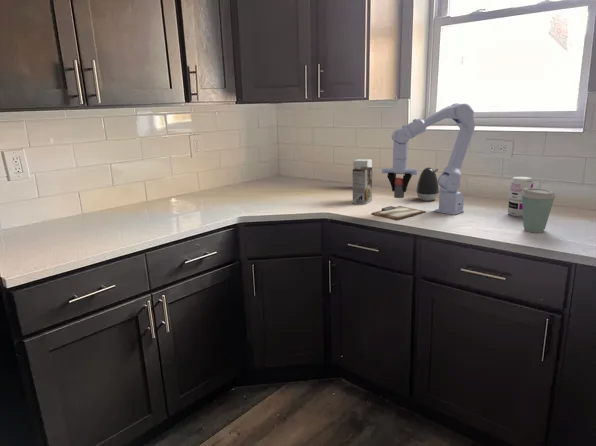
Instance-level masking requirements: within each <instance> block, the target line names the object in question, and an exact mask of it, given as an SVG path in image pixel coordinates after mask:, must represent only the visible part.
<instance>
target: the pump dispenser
mask: <svg viewBox="0 0 596 446" xmlns="http://www.w3.org/2000/svg"><path fill="white" fill-rule="evenodd" d="M437 171H438V172H439V168H435V169H433V168H432V167H425V168H424V169H423V170H422V171H421V173H420V175H419V178H418V181H417V185H416V188H415V189H416V194H417V197H418V198H419V199H420V200H421V201H426V202H431V201H435V200H436V199H437V197H438V195H439V193H440V185H439V183H438V176H437V174H436V172H437Z"/></svg>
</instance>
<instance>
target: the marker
mask: <svg viewBox="0 0 596 446" xmlns="http://www.w3.org/2000/svg"><path fill="white" fill-rule="evenodd" d="M394 184H395V185H394V191H393V192H394V193H393V194H394V195H393V198H395V199H403V198H405V192H403V187H404V180H403V176H402V177H401V176H400V177H399V176H396V178H394Z"/></svg>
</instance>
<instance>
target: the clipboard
mask: <svg viewBox="0 0 596 446" xmlns="http://www.w3.org/2000/svg"><path fill="white" fill-rule="evenodd" d="M426 213H427V211H426V210H421V209H416V208H412V207H411V208H410V207H406V206H402V205H398V206H393V205H390V206H386V207H382V208H381V210H378V211H373V212H371V215H373V216H377V217H382V218H386V219H390V220H395V221H400V220H403V219H407V218H411V217H415V216H419V215H422V214H426Z"/></svg>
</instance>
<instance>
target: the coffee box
mask: <svg viewBox="0 0 596 446" xmlns="http://www.w3.org/2000/svg"><path fill="white" fill-rule="evenodd" d="M372 201H373V166H372V167H358V168H355V169H354V168H353V169H352V204H354V205H363V206H365V205H367V204H368V203H370V202H372Z"/></svg>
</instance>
